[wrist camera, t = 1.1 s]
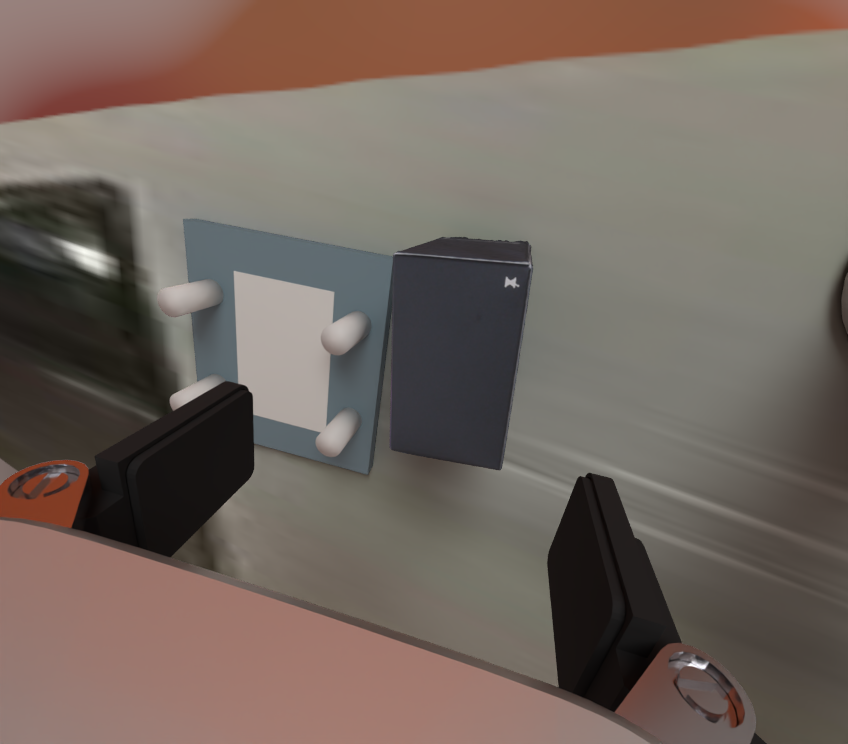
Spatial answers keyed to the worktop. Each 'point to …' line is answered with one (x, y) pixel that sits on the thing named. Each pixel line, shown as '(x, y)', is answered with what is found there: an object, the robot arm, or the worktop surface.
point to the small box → (457, 347)
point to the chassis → (289, 335)
